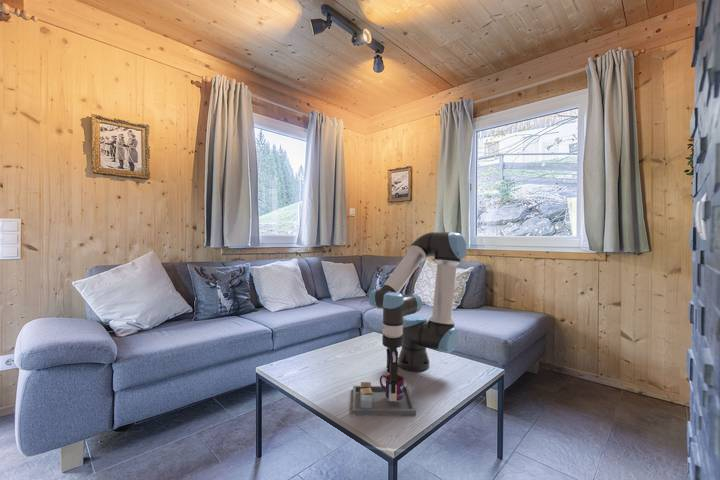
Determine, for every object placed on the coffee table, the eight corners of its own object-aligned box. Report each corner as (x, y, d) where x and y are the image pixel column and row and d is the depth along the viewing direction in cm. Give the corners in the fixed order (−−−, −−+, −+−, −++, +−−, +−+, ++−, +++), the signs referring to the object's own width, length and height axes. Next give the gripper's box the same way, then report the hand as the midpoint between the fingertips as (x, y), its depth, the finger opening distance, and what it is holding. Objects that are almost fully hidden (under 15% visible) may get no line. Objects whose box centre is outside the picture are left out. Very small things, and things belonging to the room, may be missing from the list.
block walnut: (370, 392, 130) (370, 382, 130) (371, 397, 126) (371, 387, 126) (360, 392, 130) (360, 382, 130) (360, 397, 126) (360, 386, 126)
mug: (395, 402, 118) (396, 384, 118) (375, 392, 125) (375, 374, 125) (407, 396, 123) (407, 378, 123) (386, 386, 130) (387, 369, 130)
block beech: (370, 398, 125) (370, 387, 125) (372, 403, 122) (372, 393, 121) (360, 399, 125) (360, 388, 125) (362, 404, 121) (362, 393, 121)
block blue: (372, 406, 120) (372, 395, 120) (371, 412, 116) (371, 401, 116) (361, 405, 120) (362, 394, 120) (360, 411, 116) (360, 400, 116)
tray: (407, 391, 132) (407, 385, 132) (415, 416, 114) (415, 410, 114) (353, 390, 132) (353, 385, 132) (352, 416, 114) (352, 410, 114)
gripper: (380, 326, 133) (379, 382, 133) (384, 344, 112) (383, 409, 113) (399, 326, 133) (397, 382, 133) (406, 344, 112) (405, 409, 113)
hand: (391, 394), depth 123 cm, fingers closed on mug, 7 cm apart
